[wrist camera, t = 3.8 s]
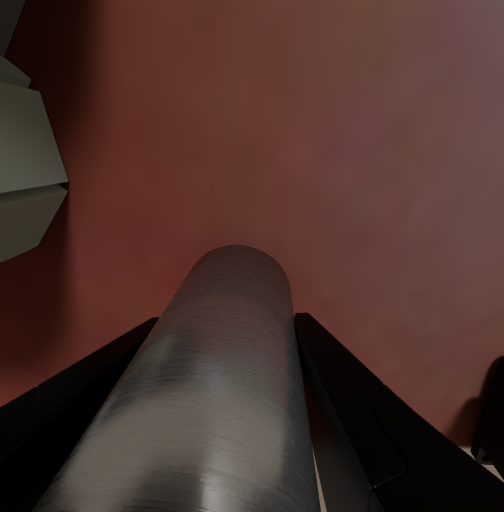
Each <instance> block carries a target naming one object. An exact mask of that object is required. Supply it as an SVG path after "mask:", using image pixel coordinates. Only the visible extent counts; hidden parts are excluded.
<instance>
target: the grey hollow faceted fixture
mask: <svg viewBox="0 0 504 512" xmlns="http://www.w3.org/2000/svg"><path fill="white" fill-rule="evenodd" d="M24 3H25V0H0V56H2V57H4V56H5V54H6V51H7V48H8V46H9V43H10V40H11V38H12V35H13V32H14V30H15V27H16V24H17V22H18V19H19V16H20V14H21V11H22V8H23V6H24Z"/></svg>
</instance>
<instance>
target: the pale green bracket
mask: <svg viewBox="0 0 504 512" xmlns="http://www.w3.org/2000/svg"><path fill="white" fill-rule="evenodd" d="M30 82H31V79H30V78H29V77H28V76H27V75H25V74H24V73H23V72H22V71H20V70H19V69H18V68H17V67H15V66H14V65H13V64H12V63H11V62H9V61H8V60H7V59H6V58H4V57H2V56H0V263H1V262H3V261H6V260H8V259H10V258H13V257H15V256H17V255H20V254H22V253H25V252H27V251H29V250H31V249H32V248H34V247H36V246H38V245H39V243H40V241H41V239H42V238H43V236H44V234H45V232H46V230H47V229H48V227H49V225H50V223H51V221H52V220H53V218H54V216H55V214H56V212H57V211H58V209H59V207H60V205H61V203H62V201H63V200H64V198H65V196H66V194H67V192H68V191H67V190H65V189H64V188H63V187H61V186H60V185H59V184H57V183H63V182H69V181H68V178H67V175H66V172H65V169H64V166H63V163H62V160H61V157H60V153H59V150H58V147H57V144H56V141H55V138H54V135H53V132H52V129H51V125H50V122H49V119H48V116H47V113H46V110H45V107H44V104H43V101H42V97H41V94H40V91H36V90H32V89H28V86H29V84H30Z"/></svg>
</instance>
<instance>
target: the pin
mask: <svg viewBox="0 0 504 512" xmlns="http://www.w3.org/2000/svg"><path fill="white" fill-rule="evenodd" d="M32 512H321V509H320V502H319V494H318V487H317V480H316V473H315V466H314V458H313V450H312V443H311V436H310V429H309V421H308V414H307V407H306V399H305V392H304V385H303V377H302V370H301V363H300V355H299V348H298V341H297V334H296V326H295V319H294V312H293V304H292V297H291V290H290V284H289V280H288V278H287V275H286V273H285V272H284V270H283V268H282V267H281V266H280V265H279V263H278V262H277V261H276V260H274V259H273V258H272V257H271V256H269V255H268V254H266V253H265V252H263V251H261V250H258V249H256V248H253V247H249V246H243V245H229V246H223V247H219V248H216V249H214V250H212V251H210V252H208V253H206V254H205V255H204V256H202V257H201V258H200V259H199V260H198V261H197V262H196V264H195V265H194V266H193V268H192V269H191V271H190V272H189V274H188V275H187V277H186V278H185V280H184V281H183V283H182V284H181V286H180V287H179V289H178V290H177V292H176V294H175V295H174V297H173V298H172V300H171V301H170V303H169V304H168V306H167V307H166V309H165V310H164V312H163V313H162V315H161V316H160V318H159V319H158V321H157V322H156V324H155V325H154V327H153V328H152V330H151V332H150V333H149V335H148V336H147V338H146V339H145V341H144V342H143V344H142V345H141V347H140V348H139V350H138V351H137V353H136V354H135V356H134V357H133V359H132V360H131V362H130V363H129V365H128V366H127V368H126V370H125V371H124V373H123V374H122V376H121V377H120V379H119V380H118V382H117V383H116V385H115V386H114V388H113V389H112V391H111V392H110V394H109V395H108V397H107V398H106V400H105V401H104V403H103V404H102V406H101V408H100V409H99V411H98V412H97V414H96V415H95V417H94V418H93V420H92V421H91V423H90V424H89V426H88V427H87V429H86V430H85V432H84V433H83V435H82V436H81V438H80V439H79V441H78V442H77V444H76V446H75V447H74V449H73V450H72V452H71V453H70V455H69V456H68V458H67V459H66V461H65V462H64V464H63V465H62V467H61V468H60V470H59V471H58V473H57V474H56V476H55V477H54V479H53V480H52V482H51V484H50V485H49V487H48V488H47V490H46V491H45V493H44V494H43V496H42V497H41V499H40V500H39V502H38V503H37V505H36V506H35V508H34V509H33V511H32Z"/></svg>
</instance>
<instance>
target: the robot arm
mask: <svg viewBox="0 0 504 512" xmlns="http://www.w3.org/2000/svg"><path fill="white" fill-rule="evenodd" d="M159 318H160V317H153V318H151V319H149V320H147V321H146V322H144V323H142V324H140V325H139V326H137V327H135V328H134V329H132V330H130V331H129V332H127V333H125V334H124V335H122V336H120V337H119V338H117V339H115V340H113V341H112V342H110V343H108V344H107V345H105V346H103V347H102V348H100V349H98V350H97V351H95V352H93V353H92V354H90V355H88V356H87V357H85V358H83V359H81V360H80V361H78V362H76V363H75V364H73V365H71V366H70V367H68V368H66V369H65V370H63V371H61V372H60V373H58V374H56V375H54V376H53V377H51V378H49V379H48V380H46V381H44V382H43V383H41V384H39V385H38V387H34V388H32V389H31V390H29V391H27V392H26V393H24V394H22V395H21V396H19V397H17V398H16V399H14V400H12V401H10V402H9V403H7V404H5V405H3V406H2V407H0V512H32V511H33V509H34V508H35V506H36V505H37V503H38V502H39V500H40V499H41V497H42V496H43V494H44V493H45V491H46V490H47V488H48V487H49V485H50V484H51V482H52V480H53V479H54V477H55V476H56V474H57V473H58V471H59V470H60V468H61V467H62V465H63V464H64V462H65V461H66V459H67V458H68V456H69V455H70V453H71V452H72V450H73V449H74V447H75V446H76V444H77V442H78V441H79V439H80V438H81V436H82V435H83V433H84V432H85V430H86V429H87V427H88V426H89V424H90V423H91V421H92V420H93V418H94V417H95V415H96V414H97V412H98V411H99V409H100V408H101V406H102V404H103V403H104V401H105V400H106V398H107V397H108V395H109V394H110V392H111V391H112V389H113V388H114V386H115V385H116V383H117V382H118V380H119V379H120V377H121V376H122V374H123V373H124V371H125V370H126V368H127V366H128V365H129V363H130V362H131V360H132V359H133V357H134V356H135V354H136V353H137V351H138V350H139V348H140V347H141V345H142V344H143V342H144V341H145V339H146V338H147V336H148V335H149V333H150V332H151V330H152V328H153V327H154V325H155V324H156V322H157V321H158V319H159ZM295 326H296V334H297V341H298V348H299V355H300V363H301V370H302V377H303V385H304V392H305V399H306V407H307V414H308V421H309V429H310V436H311V442H312V447H313V451H314V455H315V459H316V465H317V469H318V473H319V478H320V482H321V487H322V492H323V496H324V501H325V505H326V509H327V512H504V482H503V481H501V480H500V479H499V478H498V477H496V476H495V475H494V474H492V473H491V472H490V471H489V470H487V469H486V468H485V467H483V466H482V465H481V464H483V465H494V467H495V468H496V470H497V471H498V473H499V474H500V475H501V477H502V478H503V480H504V359H502V360H501V361H500V363H499V365H498V368H497V371H496V374H495V377H494V380H493V383H492V386H491V389H490V392H489V395H488V398H487V401H486V404H485V407H484V411H483V414H482V417H481V420H480V423H479V426H478V429H477V432H476V435H475V438H474V441H473V444H472V447H471V453H472V455H473V456H474V458H475V459H476V460H474V459H473V458H472V457H471V456H470V455H468V454H467V453H466V452H465V451H463V450H462V449H461V448H459V447H458V446H457V445H456V444H454V443H453V442H452V441H451V440H449V439H448V438H447V437H445V436H444V435H443V434H442V433H440V432H439V431H438V430H437V429H436V428H434V427H433V426H432V425H431V424H429V423H428V422H427V421H426V420H425V419H423V418H422V417H421V416H420V415H418V414H417V413H416V412H415V411H414V410H413V409H412V408H411V407H409V406H408V405H407V404H406V403H405V402H404V401H403V400H402V399H400V398H399V397H398V396H397V395H396V394H395V393H394V392H393V391H392V390H391V389H390V388H388V387H387V386H386V385H383V382H382V381H381V380H380V379H379V378H378V377H377V376H375V375H374V374H373V373H372V372H371V371H370V370H369V369H368V368H367V367H366V366H365V365H364V364H363V363H362V362H360V361H359V360H358V359H357V358H356V357H355V356H354V355H353V354H352V353H351V352H350V351H349V350H348V349H347V348H346V347H344V346H343V345H342V344H341V343H340V342H339V341H338V340H337V339H336V338H335V337H334V336H333V335H332V334H331V333H329V332H328V331H327V330H326V329H325V328H324V327H323V326H322V325H321V324H320V323H319V322H318V321H317V320H316V319H314V318H313V317H312V316H311V315H310V314H309V313H296V314H295Z"/></svg>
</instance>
